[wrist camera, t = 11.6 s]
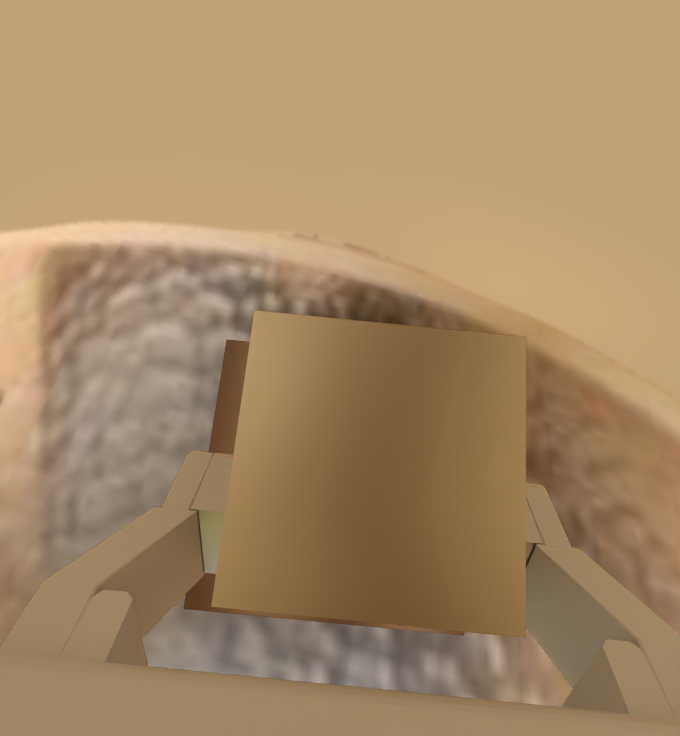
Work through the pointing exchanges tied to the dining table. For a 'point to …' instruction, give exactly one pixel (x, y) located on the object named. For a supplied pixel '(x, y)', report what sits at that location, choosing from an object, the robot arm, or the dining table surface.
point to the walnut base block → (225, 443)
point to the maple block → (379, 476)
